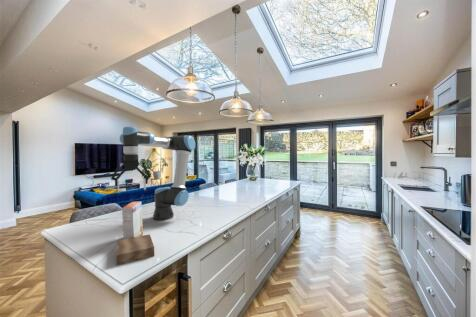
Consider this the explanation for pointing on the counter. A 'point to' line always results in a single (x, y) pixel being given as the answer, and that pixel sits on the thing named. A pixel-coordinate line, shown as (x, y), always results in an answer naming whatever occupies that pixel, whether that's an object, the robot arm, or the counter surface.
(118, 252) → the walnut plinth block
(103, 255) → the counter surface
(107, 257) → the counter surface
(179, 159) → the robot arm
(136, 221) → the cracker box
